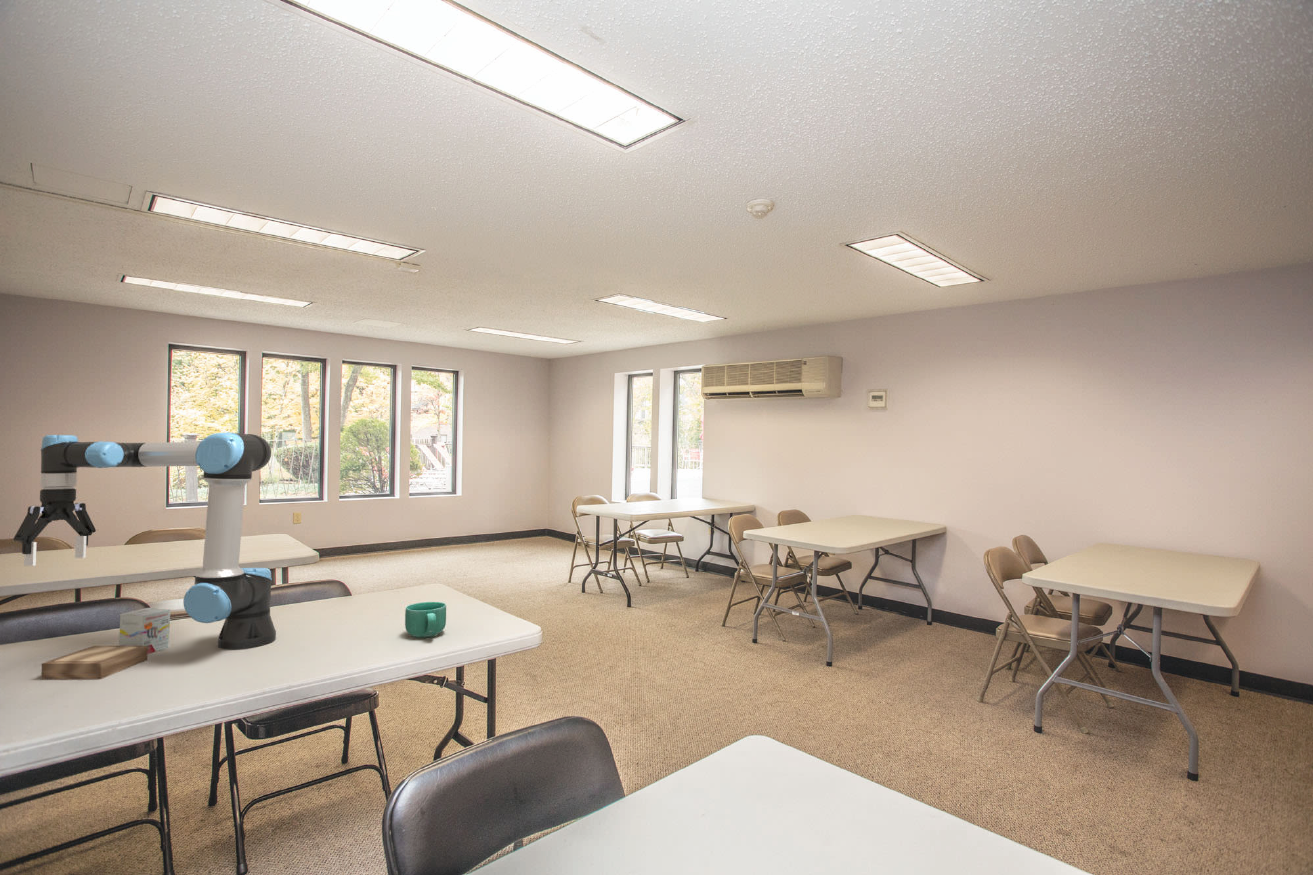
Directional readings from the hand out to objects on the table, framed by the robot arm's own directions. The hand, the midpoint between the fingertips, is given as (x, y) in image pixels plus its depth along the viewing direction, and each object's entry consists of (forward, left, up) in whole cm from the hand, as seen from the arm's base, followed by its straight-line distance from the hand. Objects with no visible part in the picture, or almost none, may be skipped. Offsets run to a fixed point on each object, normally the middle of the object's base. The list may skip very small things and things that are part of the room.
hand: (56, 561), depth 177 cm
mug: (-100, -19, -27) cm, 105 cm away
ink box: (-22, -5, -27) cm, 35 cm away
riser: (-22, +11, -27) cm, 37 cm away
